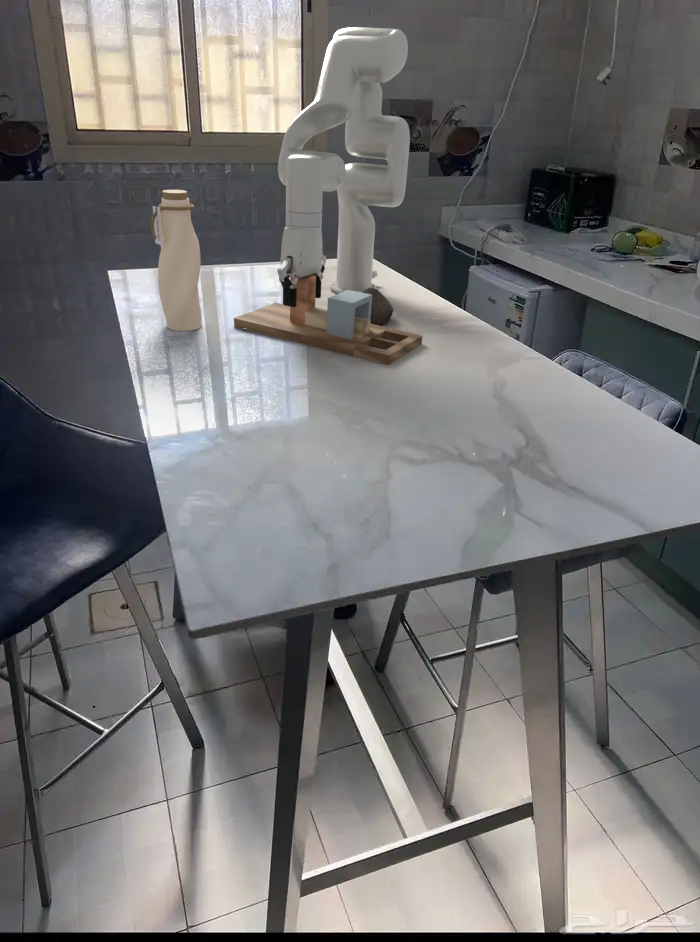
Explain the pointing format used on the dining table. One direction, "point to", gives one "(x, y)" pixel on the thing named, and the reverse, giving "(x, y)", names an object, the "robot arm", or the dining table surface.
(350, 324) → the tunnel
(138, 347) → the dining table surface
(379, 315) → the stone
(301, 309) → the l-shaped wooden block
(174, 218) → the water bottle
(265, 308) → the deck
